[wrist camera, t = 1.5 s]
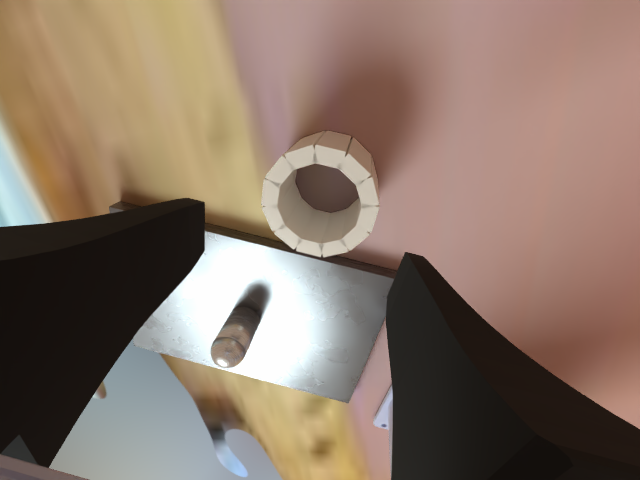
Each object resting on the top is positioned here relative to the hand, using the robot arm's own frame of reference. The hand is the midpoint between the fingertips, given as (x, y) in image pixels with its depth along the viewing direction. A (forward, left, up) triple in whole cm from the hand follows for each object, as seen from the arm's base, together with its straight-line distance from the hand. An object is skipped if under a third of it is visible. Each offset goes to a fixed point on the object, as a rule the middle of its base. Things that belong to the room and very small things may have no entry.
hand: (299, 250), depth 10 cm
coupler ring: (0, 0, -8) cm, 8 cm away
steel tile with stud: (+4, +12, -8) cm, 15 cm away
